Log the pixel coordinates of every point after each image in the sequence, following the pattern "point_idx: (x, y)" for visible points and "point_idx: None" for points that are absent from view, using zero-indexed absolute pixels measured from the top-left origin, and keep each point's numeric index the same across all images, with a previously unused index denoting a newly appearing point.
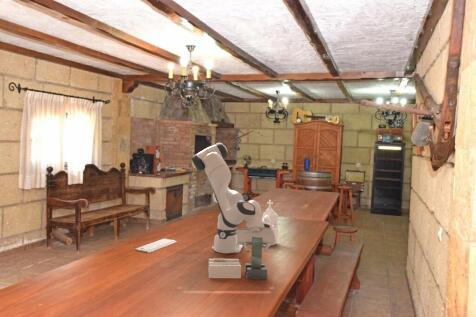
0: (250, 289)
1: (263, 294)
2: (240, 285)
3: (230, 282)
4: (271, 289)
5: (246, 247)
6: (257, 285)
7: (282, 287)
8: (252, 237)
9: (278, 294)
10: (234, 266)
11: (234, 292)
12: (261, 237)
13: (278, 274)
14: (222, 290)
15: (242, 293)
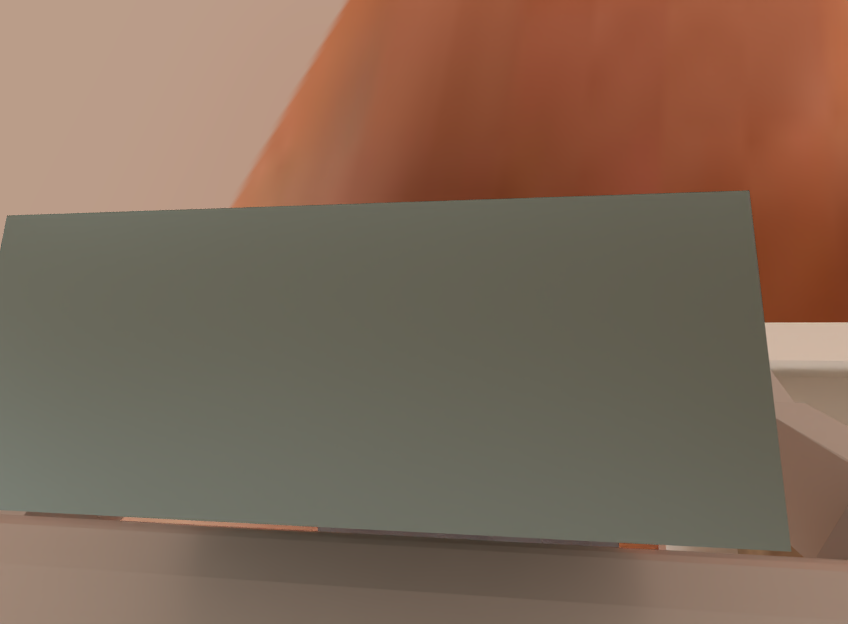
0: (562, 96)
1: (462, 3)
2: (655, 186)
3: (765, 264)
4: (371, 109)
5: (787, 397)
6: (482, 194)
7: (264, 159)
8: (764, 345)
9: (340, 14)
10: (821, 324)
11: (719, 20)
12: (21, 360)
13: (194, 522)
14: (842, 54)
15: (644, 6)
